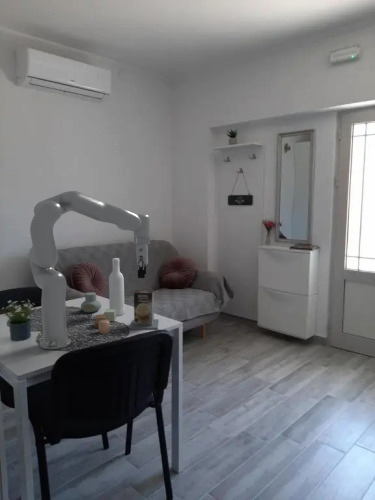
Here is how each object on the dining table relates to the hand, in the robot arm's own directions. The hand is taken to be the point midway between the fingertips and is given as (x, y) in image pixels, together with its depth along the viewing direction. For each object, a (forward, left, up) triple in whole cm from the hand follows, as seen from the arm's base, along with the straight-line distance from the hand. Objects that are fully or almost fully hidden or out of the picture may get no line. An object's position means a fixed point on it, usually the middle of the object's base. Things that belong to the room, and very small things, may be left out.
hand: (142, 276), depth 186 cm
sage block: (+9, +17, -25) cm, 31 cm away
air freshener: (+26, +30, -25) cm, 47 cm away
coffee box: (0, -1, -24) cm, 24 cm away
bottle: (+20, +15, -25) cm, 35 cm away
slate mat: (0, -1, -24) cm, 24 cm away
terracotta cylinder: (-9, +17, -24) cm, 31 cm away
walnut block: (0, +20, -25) cm, 32 cm away
